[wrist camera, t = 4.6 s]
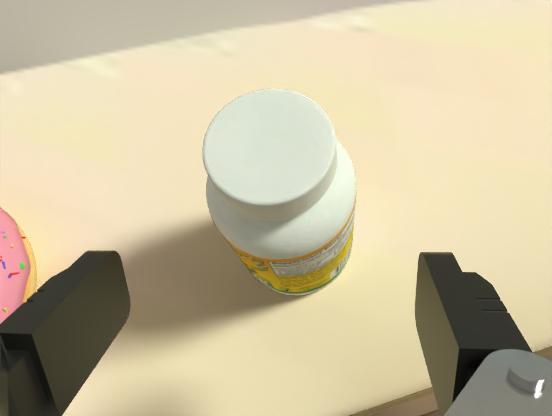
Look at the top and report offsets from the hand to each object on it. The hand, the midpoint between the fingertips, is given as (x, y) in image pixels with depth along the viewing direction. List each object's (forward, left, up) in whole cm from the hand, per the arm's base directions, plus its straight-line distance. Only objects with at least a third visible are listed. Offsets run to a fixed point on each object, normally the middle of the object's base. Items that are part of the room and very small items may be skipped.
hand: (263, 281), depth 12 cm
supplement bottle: (-1, -4, -9) cm, 10 cm away
